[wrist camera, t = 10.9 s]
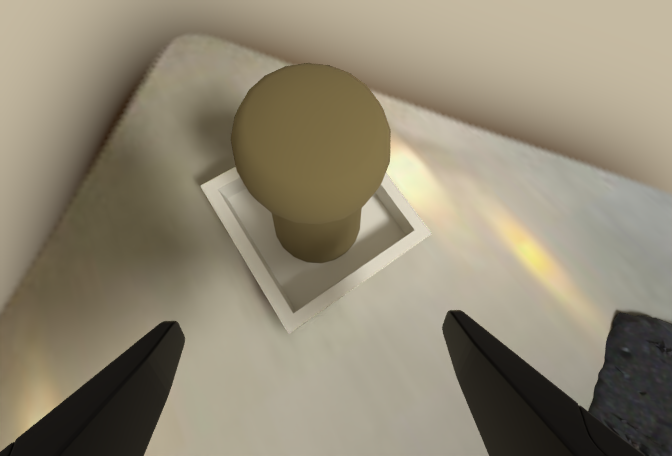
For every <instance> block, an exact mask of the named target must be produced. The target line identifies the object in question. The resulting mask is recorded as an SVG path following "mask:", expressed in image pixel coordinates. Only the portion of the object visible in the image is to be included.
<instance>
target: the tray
mask: <svg viewBox="0 0 672 456" xmlns="http://www.w3.org/2000/svg"><path fill="white" fill-rule="evenodd" d="M201 188H202V190H203V191H204V193H205V195H206V196H207V198H208V200H209V201H210V203H211V205H212V206H213V208H214V210H215V211H216V213H217V215H218V217H219V218H220V220H221V222H222V223H223V225H224V227H225V228H226V230H227V232H228V233H229V235H230V237H231V238H232V240H233V242H234V243H235V245H236V247H237V248H238V250H239V252H240V253H241V255H242V257H243V259H244V260H245V262H246V264H247V265H248V267H249V269H250V270H251V272H252V274H253V275H254V277H255V279H256V280H257V282H258V284H259V285H260V287H261V289H262V290H263V292H264V294H265V295H266V297H267V299H268V301H269V302H270V304H271V306H272V307H273V309H274V311H275V312H276V314H277V316H278V317H279V319H280V321H281V322H282V324H283V326H284V327H285V329H286V331H287V332H288V334H290V333H291V332H293V331H294V330H295V329H297V328H298V327H300V326H301V325H303V324H304V323H305V322H307V321H308V320H310V319H311V318H313V317H314V316H315V315H317V314H318V313H320V312H321V311H323V310H324V309H325V308H327V307H328V306H330V305H331V304H332V303H334V302H335V301H337V300H338V299H340V298H341V297H342V296H344V295H345V294H347V293H348V292H350V291H351V290H352V289H354V288H355V287H357V286H358V285H360V284H361V283H362V282H364V281H365V280H367V279H368V278H370V277H371V276H372V275H374V274H375V273H377V272H378V271H380V270H381V269H382V268H384V267H385V266H387V265H388V264H390V263H391V262H392V261H394V260H395V259H397V258H398V257H400V256H401V255H402V254H404V253H405V252H407V251H408V250H410V249H411V248H412V247H414V246H415V245H417V244H418V243H420V242H421V241H422V240H424V239H425V238H427V237H428V236H430V235H431V234H432V233H431V231H430V230H429V229H428V227H427V226H426V225H425V223H424V222H423V221H422V219H421V218H420V217H419V215H418V214H417V213H416V211H415V210H414V209H413V208H412V206H411V205H410V204H409V202H408V201H407V200H406V198H405V197H404V196H403V194H402V193H401V192H400V190H399V189H398V188H397V186H396V185H395V184H394V182H393V181H392V180H391V178H390V177H389V176H388V174H387V173H385V176H384V178H383V181H382V183H381V185H380V187H379V188H378V190H377V191H376V192H375V193H374V194H373V196H372V197H371V198H370V199H369V200H368V202H367V203H366V204H365V205H364V206H363V207H362V210H361V222H360V231H359V233H358V236H357V238H356V241H355V243H354V244H353V245H352V246H351V248H350V249H349V250H348V251H347V252H346V253H345V254H343V255H342V256H340V257H339V258H337V259H335V260H332V261H328V262H324V263H310V262H305V261H302V260H300V259H298V258H295V257H293V256H292V255H291V254H290V253H289V252H287V251H286V250H285V249H284V248H283V247H282V245H281V243H280V242H279V240H278V238H277V236H276V232H275V227H274V222H273V218H272V213H271V212H270V211H269V210H268V209H266V208H265V207H264V206H263V205H262V204H260V203H259V202H258V201H257V200H256V199H255V198H254V197H253V196H252V195H251V194H250V192H249V191H248V189H247V188H246V186H245V184H244V183H243V181H242V179H241V178H240V176H239V174H238V173H237V170H236V167H234V168H232V169H230V170H228V171H227V172H225V173H223V174H221V175H219V176H217V177H215V178H214V179H212V180H210V181H208V182H206V183H204V184H203V185H201Z"/></svg>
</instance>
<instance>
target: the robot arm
mask: <svg viewBox="0 0 672 456" xmlns="http://www.w3.org/2000/svg"><path fill="white" fill-rule="evenodd" d="M442 330H443V334H444V338H445V341H446V344H447V348H448V351H449V354H450V357H451V361H452V364H453V367H454V370H455V373H456V376H457V379H458V382H459V384H460V387H461V389H462V392H463V394H464V396H465V399H466V401H467V404H468V406H469V408H470V411H471V413H472V416H473V418H474V420H475V423H476V425H477V428H478V430H479V432H480V435H481V437H482V440H483V442H484V444H485V447H486V449H487V452H488V454H489V456H645V455H644V454H643V453H641V452H640V451H639V450H637V449H636V448H635V447H633V446H632V445H631V444H629V443H628V442H626V441H625V440H624V439H622V438H621V437H620V436H619V435H617V434H616V433H615V432H613V431H612V430H611V429H610V428H608V427H607V426H606V425H604V424H603V423H602V422H601V421H599V420H598V419H597V418H596V417H594V416H593V415H592V414H591V413H589V412H588V411H587V410H585V409H584V408H583V407H582V406H579V405H578V403H577V402H575V401H574V400H573V399H572V398H570V397H569V396H568V395H567V394H565V393H564V392H563V391H562V390H560V389H559V388H558V387H557V386H555V385H554V384H553V383H552V382H550V381H549V380H548V379H547V378H545V377H544V376H543V375H542V374H540V373H539V372H538V371H537V370H535V369H534V368H533V367H532V366H530V365H529V364H528V363H527V362H525V361H524V360H523V359H522V358H520V357H519V356H518V355H517V354H515V353H514V352H513V351H512V350H510V349H509V348H508V347H507V346H505V345H504V344H503V343H502V342H500V341H499V340H498V339H497V338H495V337H494V336H493V335H492V334H490V333H489V332H488V331H487V330H485V329H484V328H483V327H482V326H480V325H479V324H478V323H477V322H475V321H474V320H473V319H472V318H470V317H469V316H468V315H467V314H465V313H464V312H463V311H461V310H450V311H448V312H447V315H446V317H445V320H444V323H443V327H442ZM184 343H185V337H184V334H183V332H182V330H181V328H180V325H179V323H178V322H177V321H164V322H161V323H160V324H159V325H157V326H156V327H155V328H154V329H152V330H151V331H150V332H149V333H147V334H146V335H145V336H144V337H142V338H141V339H140V340H139V341H137V342H136V343H135V344H134V345H132V346H131V347H130V348H129V349H128V350H126V351H125V352H124V353H123V354H121V355H120V356H119V357H118V358H116V359H115V360H114V361H113V362H111V363H110V364H109V365H108V366H106V367H105V368H104V369H103V370H102V371H100V372H99V373H98V374H97V375H95V376H94V377H93V378H92V379H90V380H89V381H88V382H87V383H85V384H84V385H83V386H82V387H80V388H79V389H78V390H77V391H75V392H74V393H73V394H72V395H71V396H69V397H68V398H67V399H66V400H64V401H63V402H62V403H61V404H59V405H58V406H57V407H56V408H54V409H53V410H52V411H51V412H49V413H48V414H47V415H46V416H44V417H43V418H42V419H41V420H40V421H38V422H37V423H36V424H35V425H33V426H32V427H31V428H30V429H28V430H27V431H26V432H25V433H23V434H22V435H21V436H20V437H18V438H17V439H16V441H15V442H13V443H11V444H10V445H8V446H7V447H6V448H5V449H3V450H2V451H1V452H0V456H144V454H145V451H146V449H147V446H148V444H149V441H150V439H151V437H152V434H153V432H154V429H155V427H156V425H157V422H158V420H159V417H160V415H161V412H162V410H163V408H164V405H165V403H166V400H167V398H168V395H169V392H170V389H171V386H172V383H173V380H174V376H175V373H176V370H177V367H178V363H179V360H180V357H181V353H182V350H183V347H184Z"/></svg>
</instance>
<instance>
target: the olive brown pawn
mask: <svg viewBox="0 0 672 456" xmlns="http://www.w3.org/2000/svg"><path fill="white" fill-rule="evenodd" d="M231 143H232V148H233V154H234V159H235V165H236V170H237V173H238V174H239V176H240V178H241V179H242V181H243V183H244V184H245V186H246V188H247V189H248V191H249V192H250V194H251V195H252V196H253V197H254V198H255V199H256V200H257V201H258V202H259V203H260V204H262V205H263V206H264V207H265V208H266V209H268V210H269V211H270V212H271V213H272V218H273V222H274V227H275V232H276V236H277V238H278V240H279V242H280V243H281V245H282V247H283V248H284V249H285V250H286V251H287V252H289V253H290V254H291V255H292V256H293V257H295V258H298V259H300V260H302V261H305V262H310V263H324V262H328V261H332V260H335V259H337V258H339V257H340V256H342V255H343V254H345V253H346V252H347V251H348V250H349V249H350V248H351V246H352V245H353V244H354V243H355V241H356V238H357V236H358V233H359V231H360V222H361V210H362V207H363V206H364V205H365V204H366V203H367V202H368V200H369V199H370V198H371V197H372V196H373V194H374V193H375V192H376V191H377V190H378V188H379V187H380V185H381V183H382V181H383V178H384V176H385V173H386V170H387V168H388V165H389V162H390V128H389V125H388V122H387V119H386V116H385V113H384V110H383V108H382V106H381V105H380V103H379V101H378V100H377V99H376V97H375V96H374V95H373V93H372V92H371V91H370V89H369V88H368V87H367V86H366V85H365V84H364V83H362V82H361V81H360V80H358V79H357V78H356V77H354V76H353V75H351V74H350V73H348V72H345V71H343V70H340V69H337V68H334V67H332V66H329V65H321V64H311V63H304V64H298V65H292V66H286V67H283V68H281V69H279V70H277V71H274V72H272V73H270V74H268V75H266V76H264V77H263V78H262V79H261V80H260V81H259V82H258V83H256V84H255V85H254V86H253V87H252V88H251V89H250V90H249V91H248V93H247V95H246V96H245V98H244V100H243V101H242V103H241V105H240V107H239V108H238V111H237V113H236V115H235V118H234V123H233V129H232V135H231Z"/></svg>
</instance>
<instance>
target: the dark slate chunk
mask: <svg viewBox="0 0 672 456" xmlns="http://www.w3.org/2000/svg"><path fill="white" fill-rule="evenodd" d="M589 413H591V414H592V415H593V416H594V417H596V418H597V419H598V420H599V421H601V422H602V423H603V424H604V425H606V426H607V427H608V428H610V429H611V430H612V431H613V432H615V433H616V434H617V435H619V436H620V437H621V438H622V439H624V440H625V441H626V442H628V443H629V444H631V445H632V446H633V447H635V448H636V449H637V450H639V451H640V452H641V453H643V454H644V455H645V456H672V325H671V324H669V323H667V322H665V321H662V320H660V319H657V318H650V317H647V316H631V315H629V314H625V313H619V314H618V315H617V317H616V319H615V320H614V322H613V329H612V330H611V331H610V333H609V335H608V337H607V341H606V350H605V362H604V365H603V368H602V369H601V370H600V372H599V374H598V382H597V384H596V385H595V388H594V398H593V401H592V403H591V406H590V408H589Z"/></svg>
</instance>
